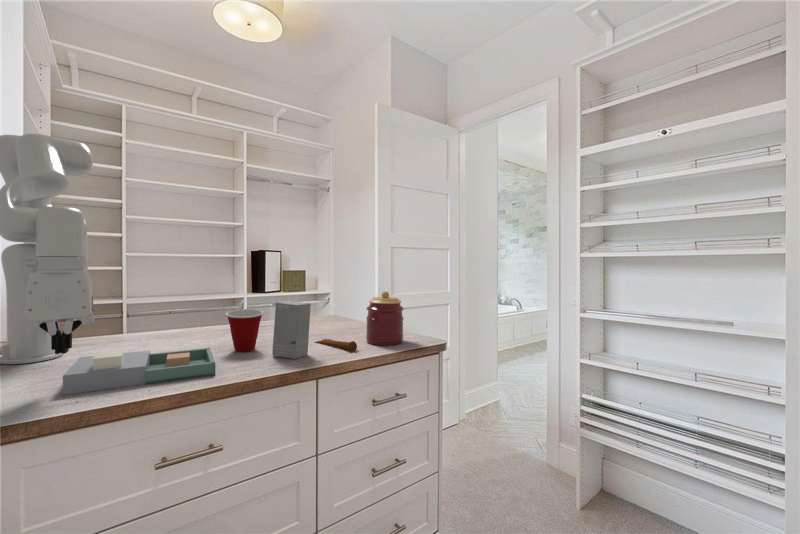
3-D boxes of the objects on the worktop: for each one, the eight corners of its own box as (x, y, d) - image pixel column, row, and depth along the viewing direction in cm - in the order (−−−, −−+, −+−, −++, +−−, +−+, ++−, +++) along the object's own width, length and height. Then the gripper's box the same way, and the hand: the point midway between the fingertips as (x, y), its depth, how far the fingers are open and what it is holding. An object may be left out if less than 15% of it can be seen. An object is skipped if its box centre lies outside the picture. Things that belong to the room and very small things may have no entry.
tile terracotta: (189, 356, 95) (189, 366, 95) (189, 352, 99) (189, 361, 99) (166, 359, 92) (166, 369, 92) (167, 354, 97) (167, 363, 97)
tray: (145, 384, 82) (145, 371, 82) (150, 365, 97) (150, 353, 97) (215, 374, 90) (215, 362, 90) (209, 358, 104) (209, 347, 104)
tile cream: (92, 370, 79) (92, 358, 79) (96, 364, 83) (96, 353, 83) (121, 367, 82) (121, 355, 82) (124, 361, 86) (124, 351, 86)
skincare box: (271, 356, 107) (272, 302, 107) (288, 351, 114) (288, 299, 113) (295, 360, 104) (296, 304, 103) (310, 354, 110) (311, 301, 110)
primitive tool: (313, 343, 126) (313, 333, 126) (326, 341, 130) (327, 331, 130) (349, 354, 113) (349, 342, 113) (362, 351, 117) (362, 340, 117)
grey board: (62, 394, 76) (62, 375, 75) (80, 373, 89) (80, 357, 89) (145, 383, 83) (145, 366, 83) (149, 365, 96) (149, 350, 96)
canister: (410, 341, 129) (411, 291, 129) (385, 348, 119) (386, 293, 119) (384, 336, 138) (384, 289, 137) (358, 341, 128) (358, 291, 128)
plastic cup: (223, 355, 107) (223, 314, 107) (227, 347, 117) (227, 309, 117) (262, 353, 111) (263, 313, 110) (263, 345, 121) (264, 308, 121)
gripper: (4, 266, 71) (5, 361, 71) (103, 265, 78) (104, 351, 79) (18, 266, 77) (19, 353, 77) (108, 265, 85) (109, 345, 85)
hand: (62, 352), depth 78 cm, fingers closed
